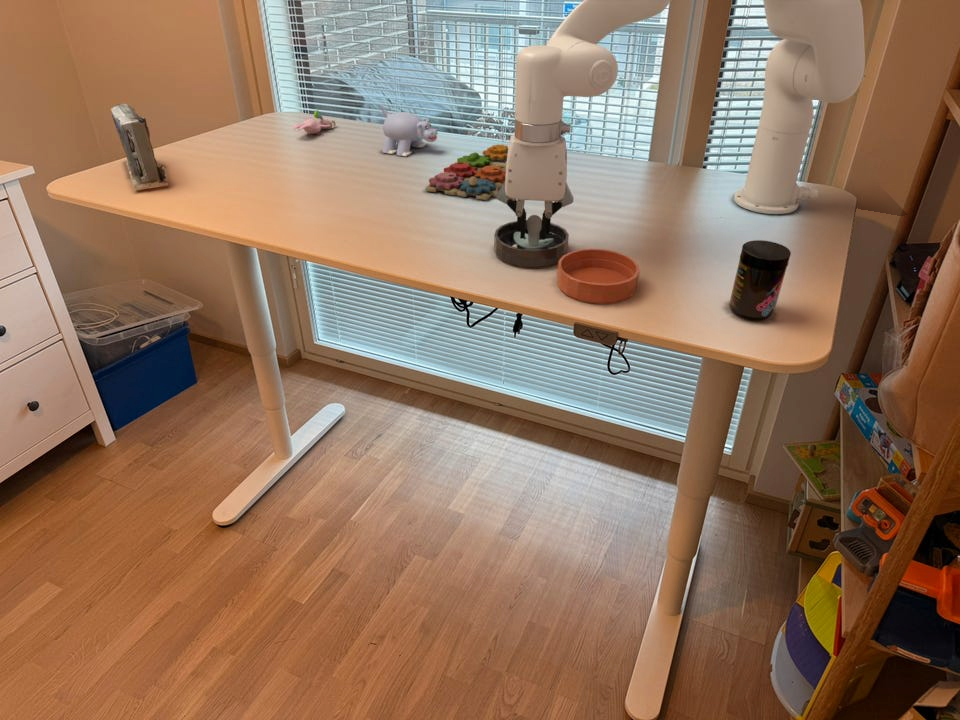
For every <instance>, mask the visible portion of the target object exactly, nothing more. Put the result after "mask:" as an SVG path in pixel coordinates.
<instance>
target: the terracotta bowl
mask: <svg viewBox="0 0 960 720" xmlns="http://www.w3.org/2000/svg"><path fill="white" fill-rule="evenodd" d="M640 270H641V269H640V265H639V264H638V263H637V261H636V260H635V259H633V258H631V257H630V256H628V255H627V254H624V253H621V252H619V251H615V250H611V249H606V248H605V249H603V248H583V249H582V248H581V249H577V250H573V251H569V252H567V254H566V255H564V256H562V258H561V259H560V260H559V261H558V264H557V273H556V274H557V275H556V284H557V286H558V288H559V289H560V290H561V291H562V293H564V294H565V295H566V296H567V297H570V298H571V299H574V300H577V301H580V302H584V303H589V304H596V305H605V304H607V305H608V304H616V303H620V302H623V301H625V300H627V299H629V298H630V297H631V296H633V295H634V294H635V293H636V291H637V290H638V285H639V279H640V273H641V271H640Z"/></svg>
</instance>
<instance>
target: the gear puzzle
mask: <svg viewBox="0 0 960 720" xmlns="http://www.w3.org/2000/svg"><path fill="white" fill-rule="evenodd" d="M508 147H509V146H508V145H504V144H494V145H491V146H489V147H487V148H486V149H485V150H483V151H482V154H479V153H478V152H477V151H476V152H475V151H474V152H472V153H470V154H469V155H463V156H462V157H458V158H457V159H456V162H454V163H451V164H450V165H449V166H447V167H444V168H443V172H439V173H437V174H435V175H434V177H431V178H428V183H429V184H428V185H426V186H425V190H426V192H431V193H437V192H438V191H440V192H444V195H448V196H457V197H462V198H467V197H468V196H471V197H475V198H476V199H477V200H481V201H487V200H489V199H490V198H492V197H494V198H496V197H497V194H498V192H499V190H500V188H501V187H502V185H503V183H504V182H505V176H506V164H507V161H505V162H502V161H504V160H507V155H508ZM496 160H498V161H496ZM493 161H494V162H493ZM499 161H501V162H499Z"/></svg>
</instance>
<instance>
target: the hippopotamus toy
mask: <svg viewBox="0 0 960 720" xmlns="http://www.w3.org/2000/svg"><path fill="white" fill-rule="evenodd" d="M379 110H382V111H381V112H382V113H383V115H384V117H385V119H384V122H383V126H382V131H383V134H384V139H383V144H382V151H381V152H382V153H383V154H389V155H394V154H396V155H397V156H400V157H408V156H410V155H411V154H412V153H413V152H412V151H411V150H410V149H411V147H413V148H417V149H419V148H424V147H425V146H426V145H427V143H426V142H429V143H434V142H436V141H437V139H438V136H437V135H438V134H439V133H438V129H437V128H433V127H432V124H431V123H430V119H429V118H428V119H426V120H422V119H421V118H420V117H419V116H418V115H416V114H414V113H411V112H404V111H401V112H399V111H398V112H394V113H393V112H392V113H389V112H388V110H386V109H385V108H384V107H379ZM423 140H425V141H426V142H423ZM396 145H397V148H396Z"/></svg>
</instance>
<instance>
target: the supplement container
mask: <svg viewBox="0 0 960 720" xmlns="http://www.w3.org/2000/svg"><path fill="white" fill-rule="evenodd" d="M791 254H792V252H791V250H790V249H789V248H787V246H785V245H783V244H781V243H778V242H775V241H769V240H762V239H761V240H760V239H756V240H749V241H746V242H745V243H743V244H742V246H741V251H740V254H739V259H738V264H737V269H736V273H735V277H734V280H733V281H734V282H733V286H732V291H731V294H730V299H729V303H728V307H729V310H730V311H731V313H732V314H733V315H734V316H735V317H738V318H740V319H742V320H745V321H751V322H763V321H767V320H769V319H771V318H772V317H773V315H774V314H775V310H776V308H777V304H778V300H779V297H780V294H781V289H782V286H783V283H784V279H785V275H786V272H787V268H788V266H789V263H790V258H791V256H792V255H791Z"/></svg>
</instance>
